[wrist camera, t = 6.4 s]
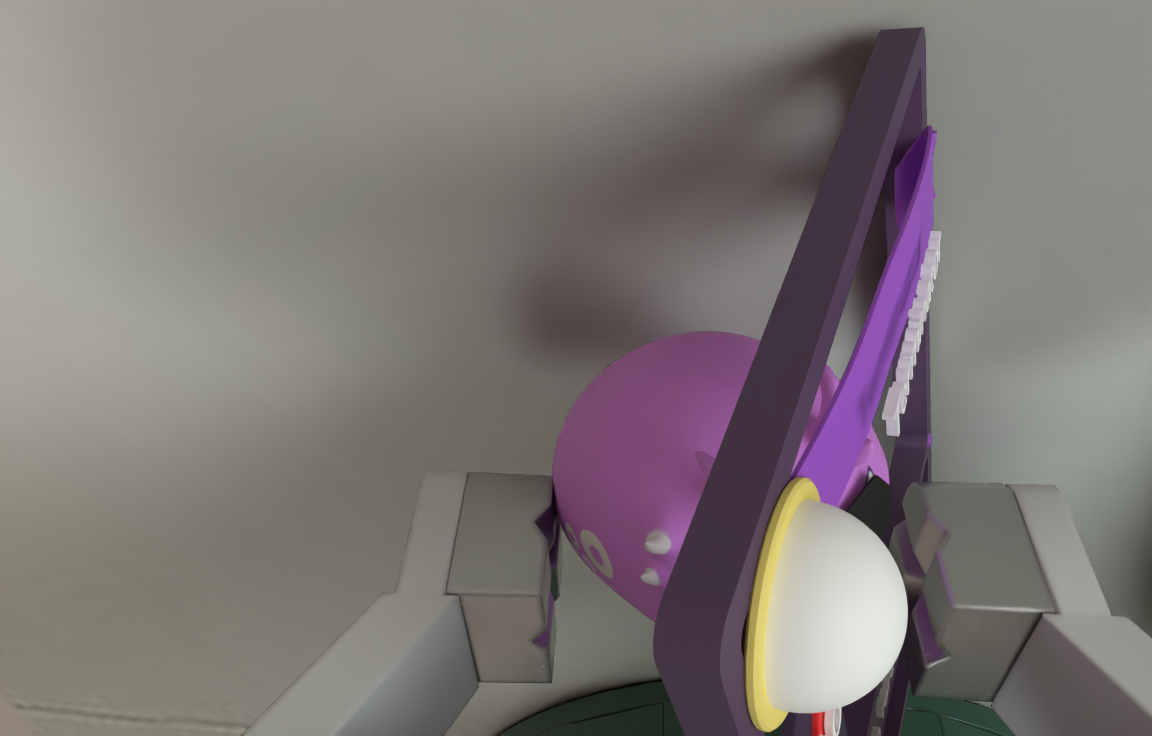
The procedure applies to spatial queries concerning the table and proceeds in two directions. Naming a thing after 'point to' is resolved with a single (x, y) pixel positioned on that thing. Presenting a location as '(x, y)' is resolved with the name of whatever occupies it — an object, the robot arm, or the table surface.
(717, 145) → the table surface
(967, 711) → the pot
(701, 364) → the purple piece
